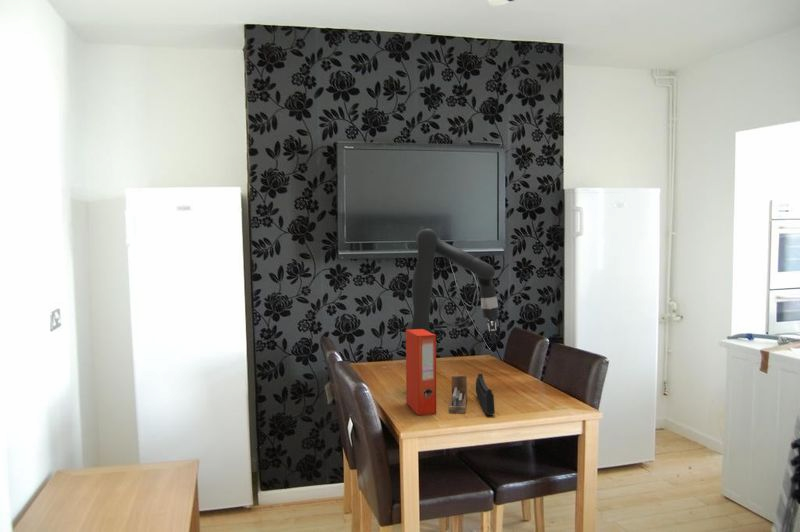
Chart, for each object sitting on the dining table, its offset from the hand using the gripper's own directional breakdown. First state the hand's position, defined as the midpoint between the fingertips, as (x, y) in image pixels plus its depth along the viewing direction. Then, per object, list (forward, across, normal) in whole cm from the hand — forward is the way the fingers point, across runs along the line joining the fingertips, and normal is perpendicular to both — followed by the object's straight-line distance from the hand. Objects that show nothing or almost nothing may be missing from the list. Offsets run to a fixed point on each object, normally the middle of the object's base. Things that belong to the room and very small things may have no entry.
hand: (493, 341), depth 264 cm
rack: (+20, +28, -18) cm, 39 cm away
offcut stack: (+20, +28, -18) cm, 39 cm away
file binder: (+19, +33, -34) cm, 51 cm away
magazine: (+22, +28, -8) cm, 36 cm away
